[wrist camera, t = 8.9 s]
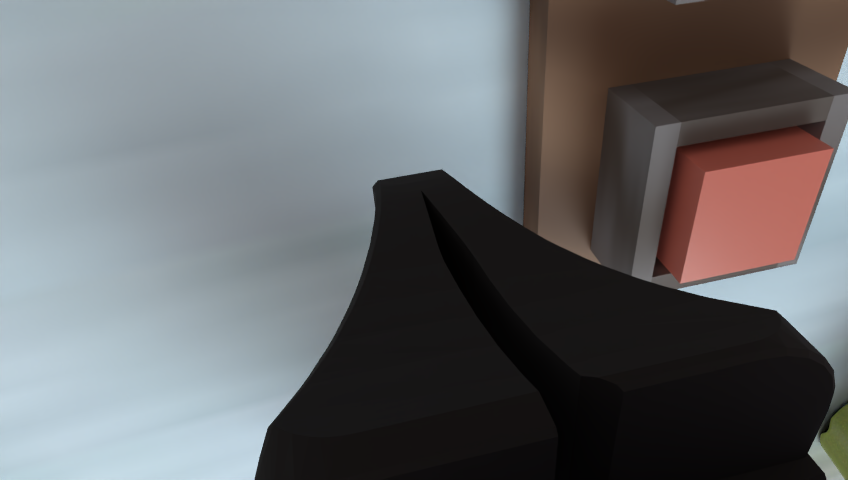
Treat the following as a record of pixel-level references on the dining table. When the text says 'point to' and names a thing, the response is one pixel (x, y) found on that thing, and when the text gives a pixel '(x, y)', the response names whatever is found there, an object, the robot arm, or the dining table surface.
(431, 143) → the dining table surface
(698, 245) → the red button
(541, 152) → the block
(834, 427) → the plant pot
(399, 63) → the dining table surface
